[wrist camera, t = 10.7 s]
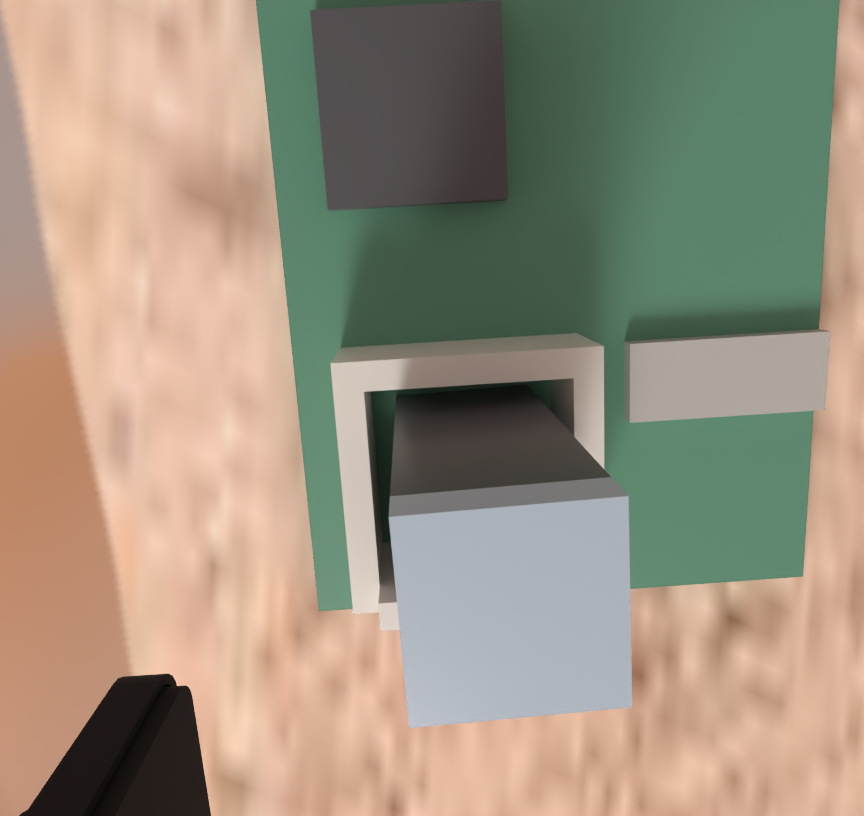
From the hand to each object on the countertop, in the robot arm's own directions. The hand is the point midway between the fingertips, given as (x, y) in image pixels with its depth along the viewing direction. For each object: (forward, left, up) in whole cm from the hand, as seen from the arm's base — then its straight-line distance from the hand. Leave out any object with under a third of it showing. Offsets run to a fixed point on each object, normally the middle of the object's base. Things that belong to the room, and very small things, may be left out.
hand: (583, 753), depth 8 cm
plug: (0, 0, -14) cm, 14 cm away
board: (-5, +3, -15) cm, 16 cm away
